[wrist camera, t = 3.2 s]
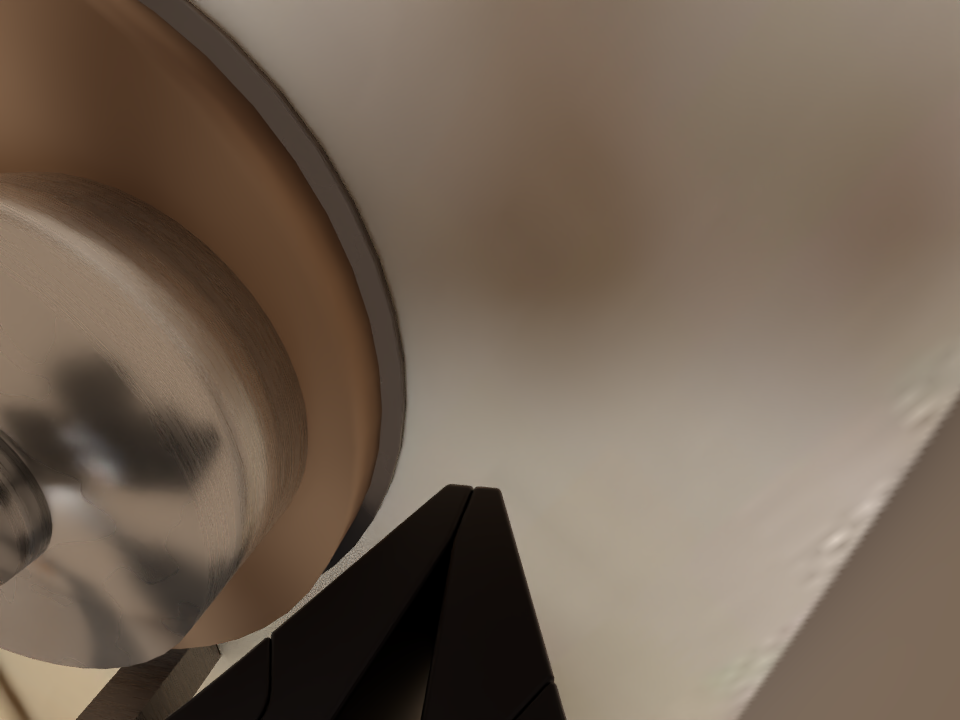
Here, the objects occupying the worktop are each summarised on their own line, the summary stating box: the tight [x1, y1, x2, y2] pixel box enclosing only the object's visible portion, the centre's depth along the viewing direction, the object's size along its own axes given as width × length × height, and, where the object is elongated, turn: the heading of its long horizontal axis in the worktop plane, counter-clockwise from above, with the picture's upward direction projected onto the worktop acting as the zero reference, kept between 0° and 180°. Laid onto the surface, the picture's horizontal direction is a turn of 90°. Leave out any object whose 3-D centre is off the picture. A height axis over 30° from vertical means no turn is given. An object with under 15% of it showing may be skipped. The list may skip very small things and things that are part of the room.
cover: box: [0, 172, 308, 669], centre depth 10 cm, size 10×10×4 cm
